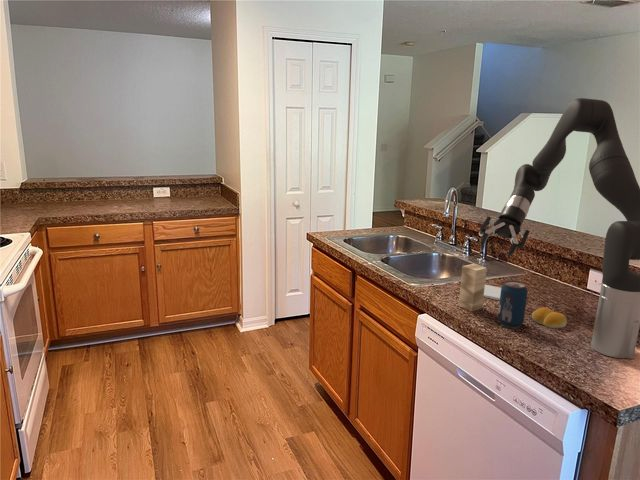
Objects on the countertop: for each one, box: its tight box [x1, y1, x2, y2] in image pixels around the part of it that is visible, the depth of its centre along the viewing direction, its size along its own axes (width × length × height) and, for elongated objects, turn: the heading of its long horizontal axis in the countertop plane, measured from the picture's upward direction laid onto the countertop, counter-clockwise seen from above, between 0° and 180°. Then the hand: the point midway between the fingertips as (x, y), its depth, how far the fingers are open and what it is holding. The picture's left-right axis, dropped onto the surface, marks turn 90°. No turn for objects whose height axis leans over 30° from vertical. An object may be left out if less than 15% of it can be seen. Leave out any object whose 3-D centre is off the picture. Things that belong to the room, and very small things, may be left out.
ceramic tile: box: [483, 284, 501, 302], centre depth 160 cm, size 11×11×1 cm
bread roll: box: [531, 307, 568, 329], centre depth 136 cm, size 8×9×4 cm
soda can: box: [497, 280, 528, 329], centre depth 134 cm, size 7×7×12 cm
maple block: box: [458, 263, 488, 312], centre depth 145 cm, size 5×5×13 cm
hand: (495, 249), depth 151 cm, fingers open, 8 cm apart
